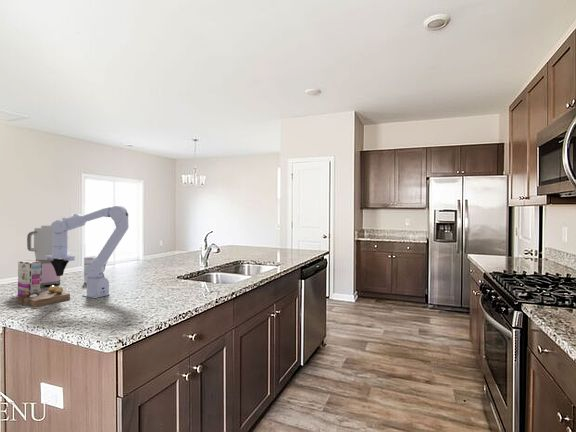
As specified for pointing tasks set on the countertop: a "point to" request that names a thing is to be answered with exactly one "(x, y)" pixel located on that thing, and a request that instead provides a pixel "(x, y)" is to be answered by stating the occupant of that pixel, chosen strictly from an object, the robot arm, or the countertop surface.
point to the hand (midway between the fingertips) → (59, 275)
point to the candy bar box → (29, 277)
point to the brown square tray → (42, 298)
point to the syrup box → (87, 262)
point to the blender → (44, 253)
